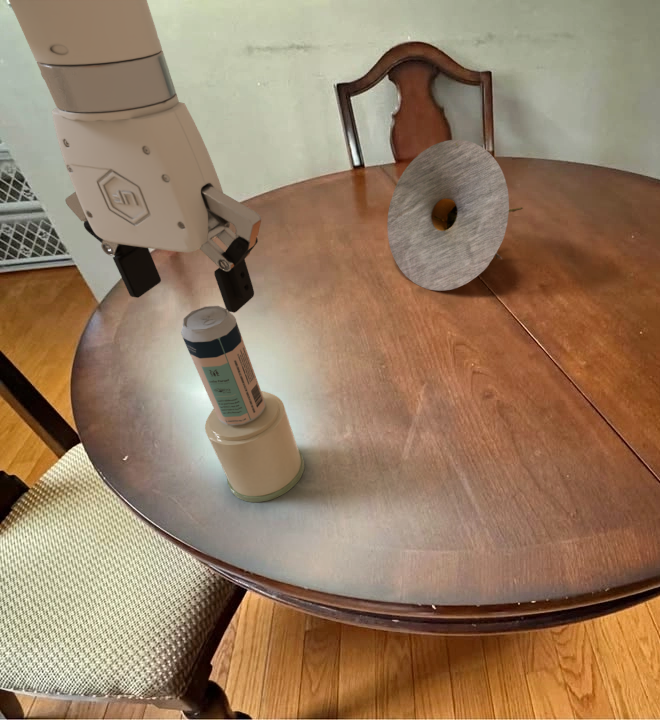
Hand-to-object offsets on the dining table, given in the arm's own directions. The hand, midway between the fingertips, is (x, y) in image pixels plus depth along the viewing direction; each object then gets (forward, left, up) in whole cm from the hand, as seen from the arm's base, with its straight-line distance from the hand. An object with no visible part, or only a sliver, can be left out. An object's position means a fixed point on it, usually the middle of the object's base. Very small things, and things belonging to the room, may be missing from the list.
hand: (193, 296), depth 49 cm
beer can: (0, 0, -15) cm, 15 cm away
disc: (+38, +36, -24) cm, 58 cm away
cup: (0, 0, -24) cm, 24 cm away
